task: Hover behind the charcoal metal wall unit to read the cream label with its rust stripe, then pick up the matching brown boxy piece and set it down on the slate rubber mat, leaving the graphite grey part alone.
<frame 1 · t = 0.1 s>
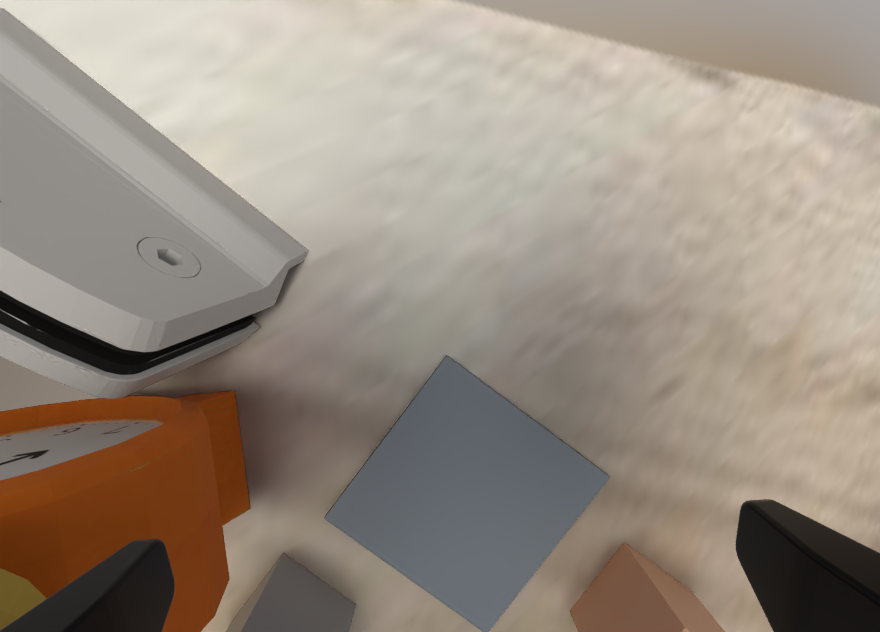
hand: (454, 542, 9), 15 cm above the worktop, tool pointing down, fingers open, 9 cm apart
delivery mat: (466, 495, 24), on the worktop
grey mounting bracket: (109, 205, 24), on the worktop
alarm clock: (130, 455, 24), on the worktop
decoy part: (293, 612, 25), on the worktop
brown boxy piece: (631, 601, 25), on the worktop
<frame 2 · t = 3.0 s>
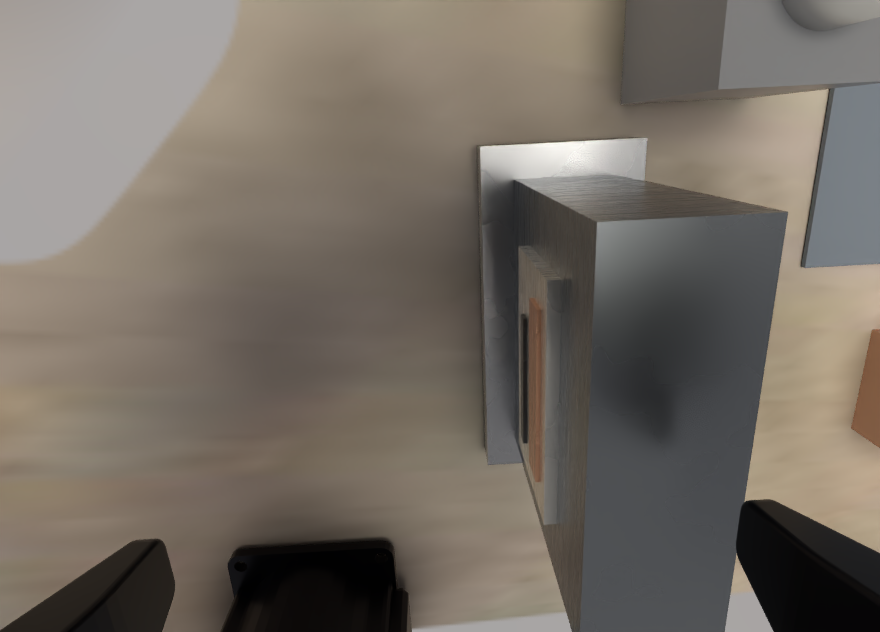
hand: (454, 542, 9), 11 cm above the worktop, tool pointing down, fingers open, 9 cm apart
wall unit: (553, 307, 19), on the worktop
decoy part: (690, 29, 16), on the worktop
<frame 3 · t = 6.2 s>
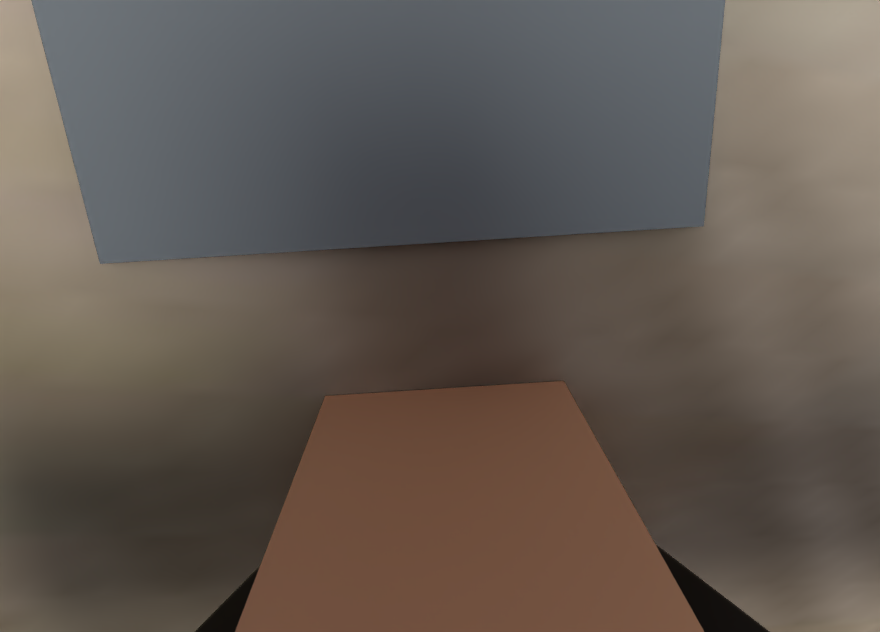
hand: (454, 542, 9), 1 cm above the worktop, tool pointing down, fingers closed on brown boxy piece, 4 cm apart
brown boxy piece: (450, 489, 10), on the worktop, touching gripper
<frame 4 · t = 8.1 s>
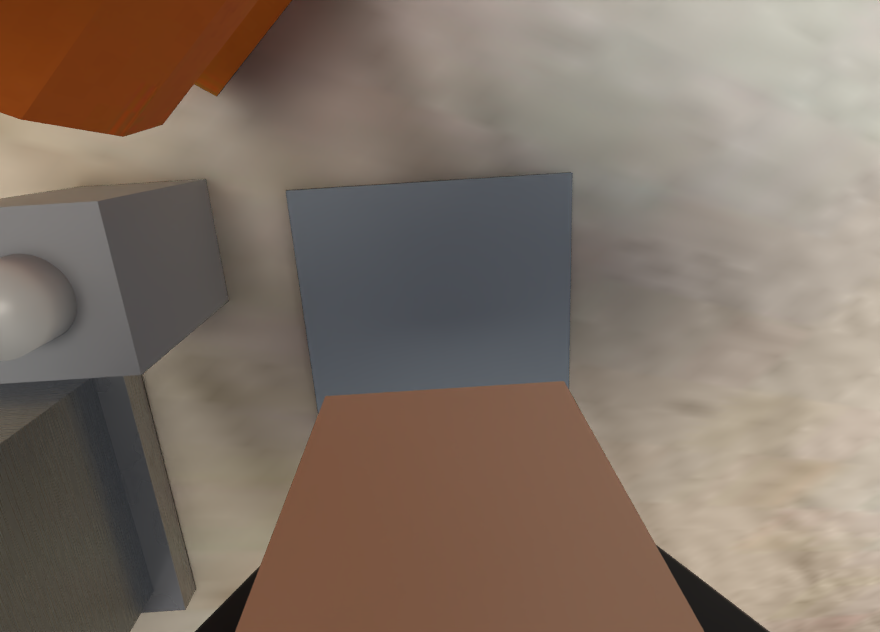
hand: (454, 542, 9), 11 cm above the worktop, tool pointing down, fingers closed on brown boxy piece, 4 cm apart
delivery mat: (437, 315, 19), on the worktop
wall unit: (99, 477, 20), on the worktop
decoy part: (156, 245, 18), on the worktop
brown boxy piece: (450, 489, 10), point 9 cm above the worktop, touching gripper
when the fingers open (3 cm above the worktop, at t = 10.2 s): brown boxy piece drops 1 cm, resting on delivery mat.
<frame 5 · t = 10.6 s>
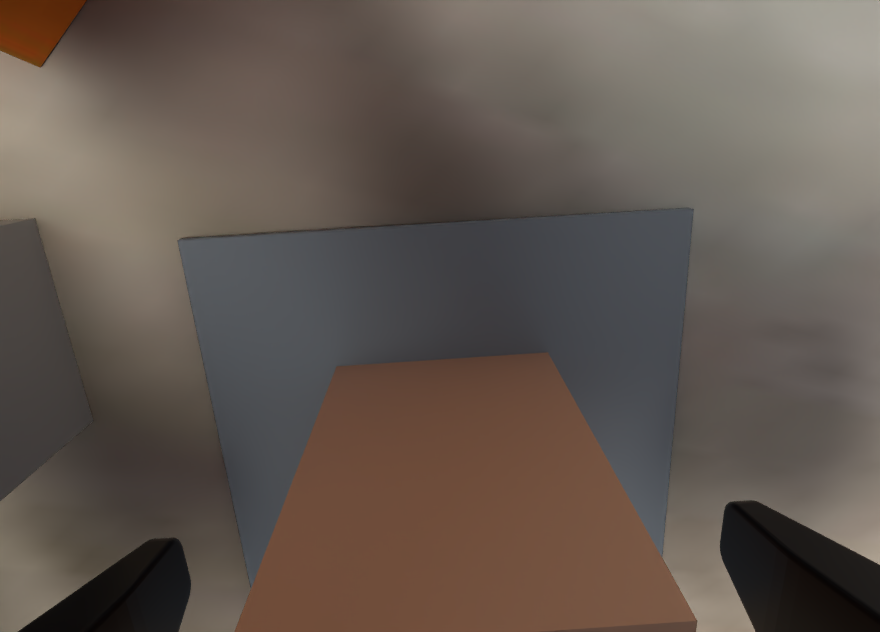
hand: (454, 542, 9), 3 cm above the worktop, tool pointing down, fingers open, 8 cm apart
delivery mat: (448, 444, 11), on the worktop
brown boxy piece: (448, 451, 11), resting on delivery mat
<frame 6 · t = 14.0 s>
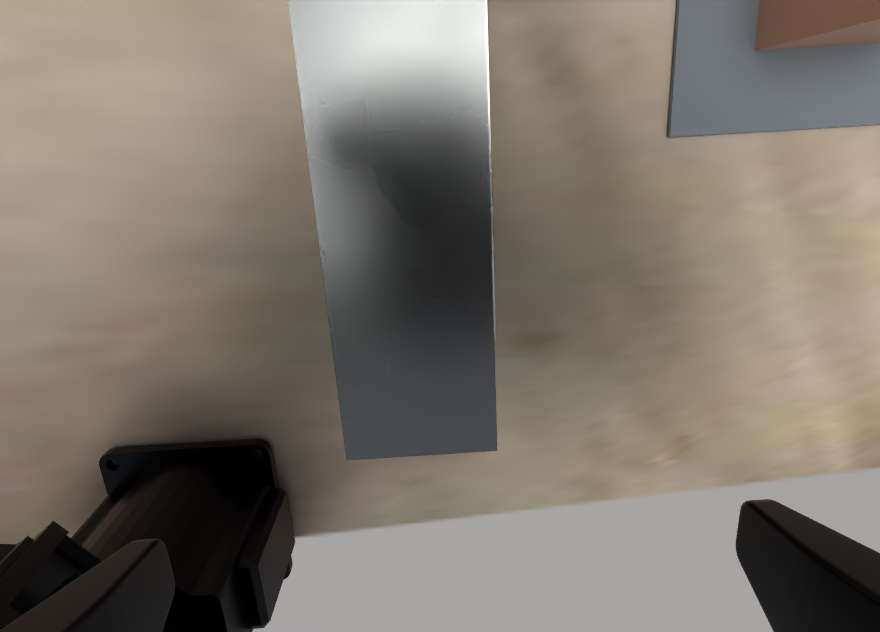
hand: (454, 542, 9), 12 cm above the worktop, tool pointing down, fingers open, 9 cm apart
wall unit: (414, 183, 18), on the worktop
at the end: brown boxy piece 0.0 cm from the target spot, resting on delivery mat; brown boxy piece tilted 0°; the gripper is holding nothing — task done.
